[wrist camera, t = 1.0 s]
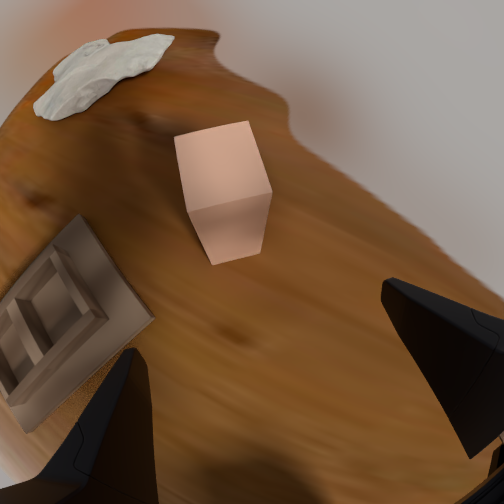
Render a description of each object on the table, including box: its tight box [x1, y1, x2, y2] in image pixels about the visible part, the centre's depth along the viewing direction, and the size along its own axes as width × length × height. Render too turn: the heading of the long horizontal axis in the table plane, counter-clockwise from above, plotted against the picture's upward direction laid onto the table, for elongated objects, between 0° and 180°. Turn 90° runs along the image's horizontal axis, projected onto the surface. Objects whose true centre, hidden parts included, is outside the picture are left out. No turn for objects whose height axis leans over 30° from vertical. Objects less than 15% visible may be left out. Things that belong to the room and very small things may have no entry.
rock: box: [33, 34, 174, 121], centre depth 27 cm, size 21×5×15 cm
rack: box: [0, 214, 155, 434], centre depth 20 cm, size 12×20×4 cm, turn 133°
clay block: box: [174, 121, 272, 265], centre depth 19 cm, size 4×4×11 cm
